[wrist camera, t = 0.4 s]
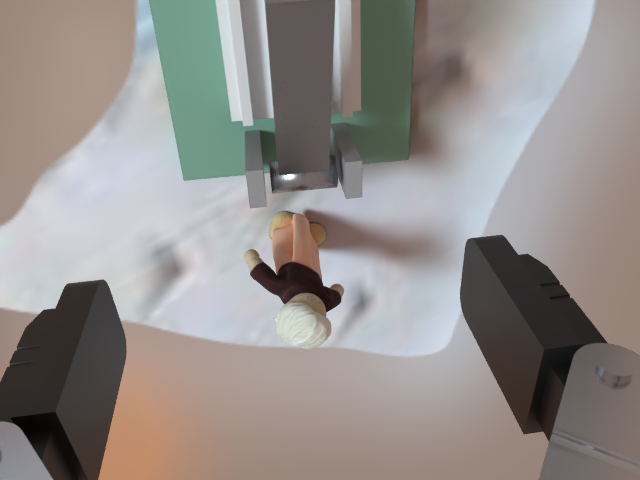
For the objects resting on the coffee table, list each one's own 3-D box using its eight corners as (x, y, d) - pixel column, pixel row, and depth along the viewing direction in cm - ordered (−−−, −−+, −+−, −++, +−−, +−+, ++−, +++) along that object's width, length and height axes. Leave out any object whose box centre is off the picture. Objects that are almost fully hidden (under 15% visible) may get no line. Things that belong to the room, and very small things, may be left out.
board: (127, -129, 30) (97, -135, 24) (416, -143, 31) (461, -152, 25) (184, 174, 40) (174, 227, 33) (404, 154, 41) (435, 201, 35)
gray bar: (245, -74, 22) (249, -43, 21) (344, -79, 23) (352, -50, 21) (270, 175, 35) (273, 202, 34) (332, 169, 36) (337, 196, 34)
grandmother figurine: (345, 219, 43) (380, 326, 32) (328, 259, 45) (356, 373, 34) (249, 195, 41) (252, 301, 30) (235, 238, 43) (234, 352, 32)
